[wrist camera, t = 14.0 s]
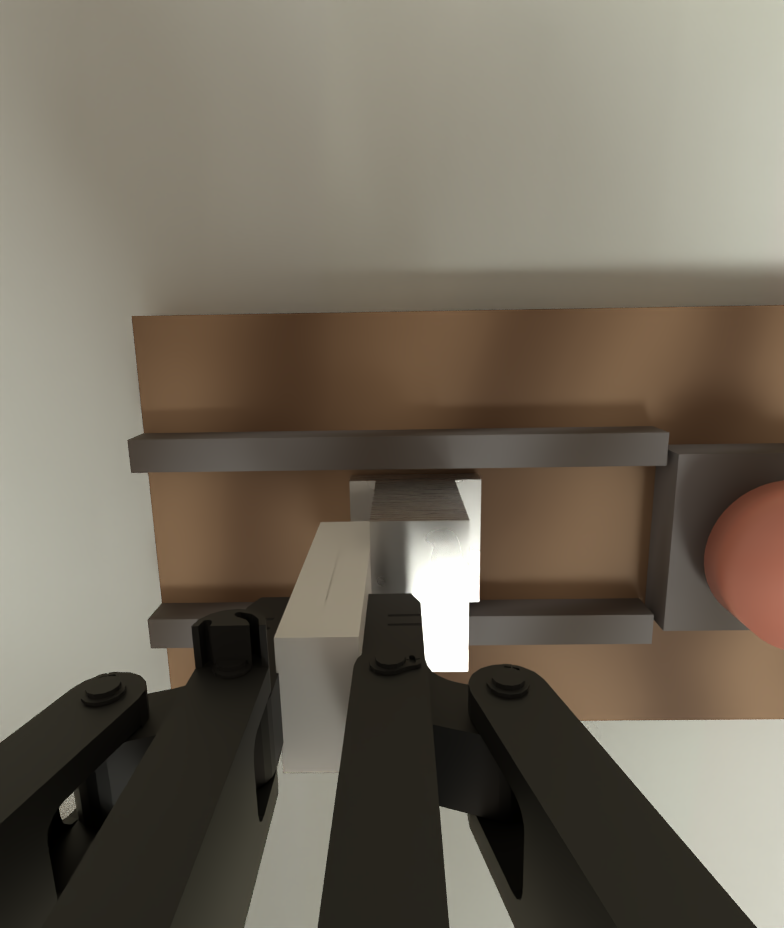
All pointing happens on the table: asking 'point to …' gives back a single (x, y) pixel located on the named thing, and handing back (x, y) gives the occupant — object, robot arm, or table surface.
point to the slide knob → (426, 551)
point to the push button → (751, 561)
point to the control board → (483, 477)
